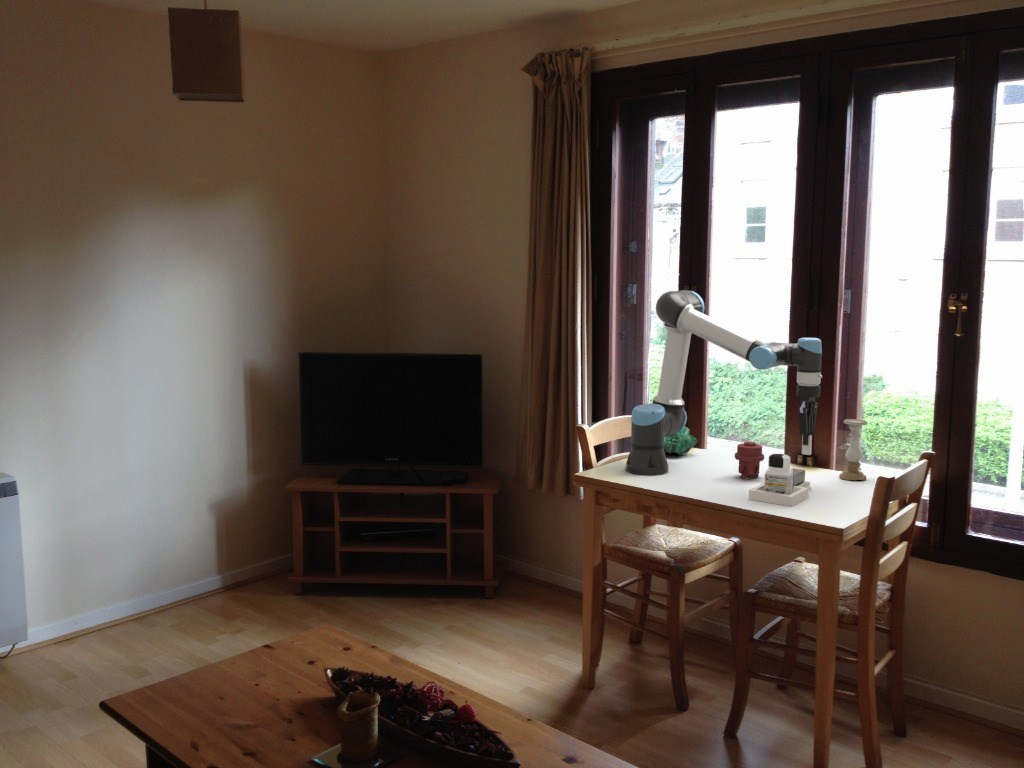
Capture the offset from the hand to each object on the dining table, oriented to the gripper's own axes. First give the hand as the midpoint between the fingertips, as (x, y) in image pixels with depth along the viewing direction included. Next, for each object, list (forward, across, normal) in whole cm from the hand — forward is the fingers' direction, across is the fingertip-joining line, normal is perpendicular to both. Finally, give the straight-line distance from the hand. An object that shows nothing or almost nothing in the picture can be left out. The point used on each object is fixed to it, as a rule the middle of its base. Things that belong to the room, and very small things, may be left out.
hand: (806, 454), depth 297 cm
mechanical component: (+11, -2, +20) cm, 22 cm away
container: (+10, -22, +1) cm, 25 cm away
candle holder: (+11, +20, -10) cm, 24 cm away
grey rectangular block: (+9, -10, 0) cm, 14 cm away
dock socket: (+11, -17, +1) cm, 20 cm away
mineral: (+10, +18, +58) cm, 61 cm away
